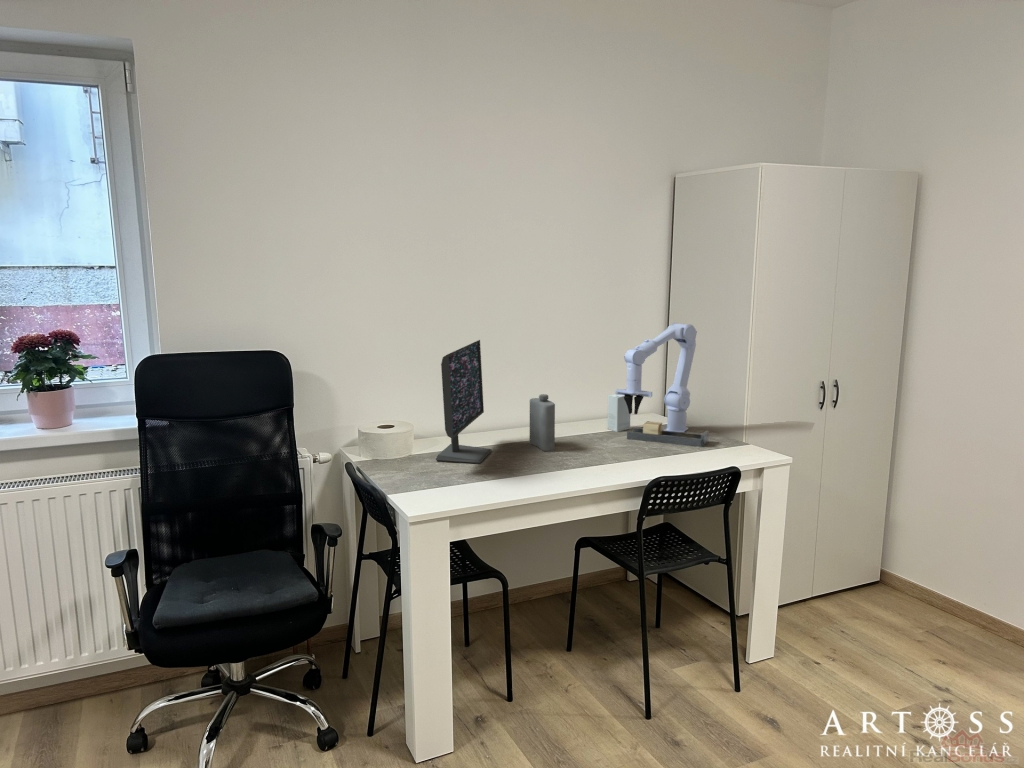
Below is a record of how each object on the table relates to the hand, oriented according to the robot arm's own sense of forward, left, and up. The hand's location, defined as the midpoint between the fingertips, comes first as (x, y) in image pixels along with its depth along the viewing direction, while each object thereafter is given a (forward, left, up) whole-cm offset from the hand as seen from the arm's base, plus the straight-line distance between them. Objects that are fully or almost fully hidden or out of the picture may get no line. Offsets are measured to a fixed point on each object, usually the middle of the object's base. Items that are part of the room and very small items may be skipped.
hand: (633, 413), depth 304 cm
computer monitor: (+55, -46, -10) cm, 72 cm away
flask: (+30, -26, -10) cm, 41 cm away
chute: (0, +14, -9) cm, 17 cm away
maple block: (0, +8, -8) cm, 11 cm away
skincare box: (-10, -9, -10) cm, 17 cm away
